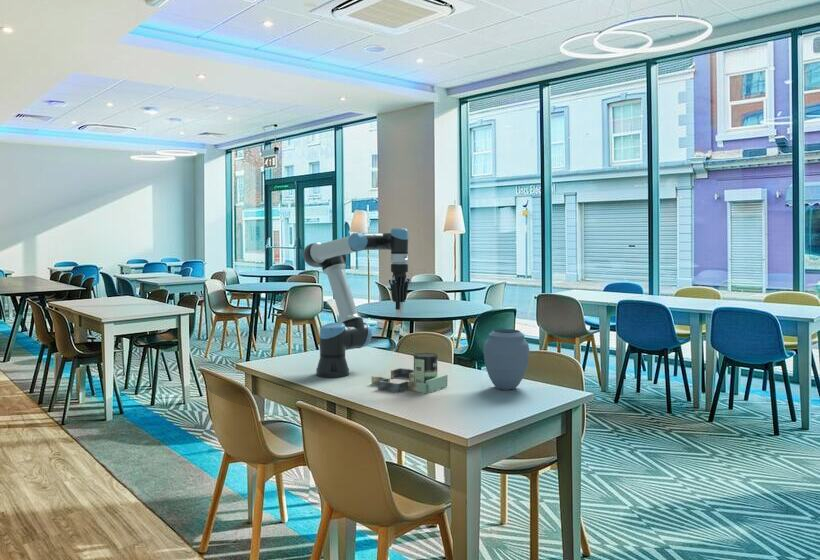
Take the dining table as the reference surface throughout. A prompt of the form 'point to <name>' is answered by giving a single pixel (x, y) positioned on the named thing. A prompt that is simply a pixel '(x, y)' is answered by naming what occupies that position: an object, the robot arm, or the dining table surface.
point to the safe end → (433, 384)
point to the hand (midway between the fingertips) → (399, 316)
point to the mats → (402, 377)
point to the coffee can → (425, 367)
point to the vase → (506, 357)
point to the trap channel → (395, 387)
